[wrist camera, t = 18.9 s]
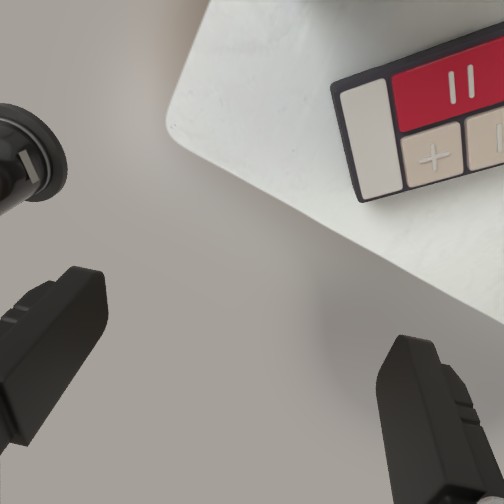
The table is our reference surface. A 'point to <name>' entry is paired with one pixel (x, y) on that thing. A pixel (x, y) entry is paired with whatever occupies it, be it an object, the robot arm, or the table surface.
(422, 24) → the table surface
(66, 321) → the robot arm
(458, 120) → the calculator
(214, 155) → the table surface
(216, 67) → the table surface
